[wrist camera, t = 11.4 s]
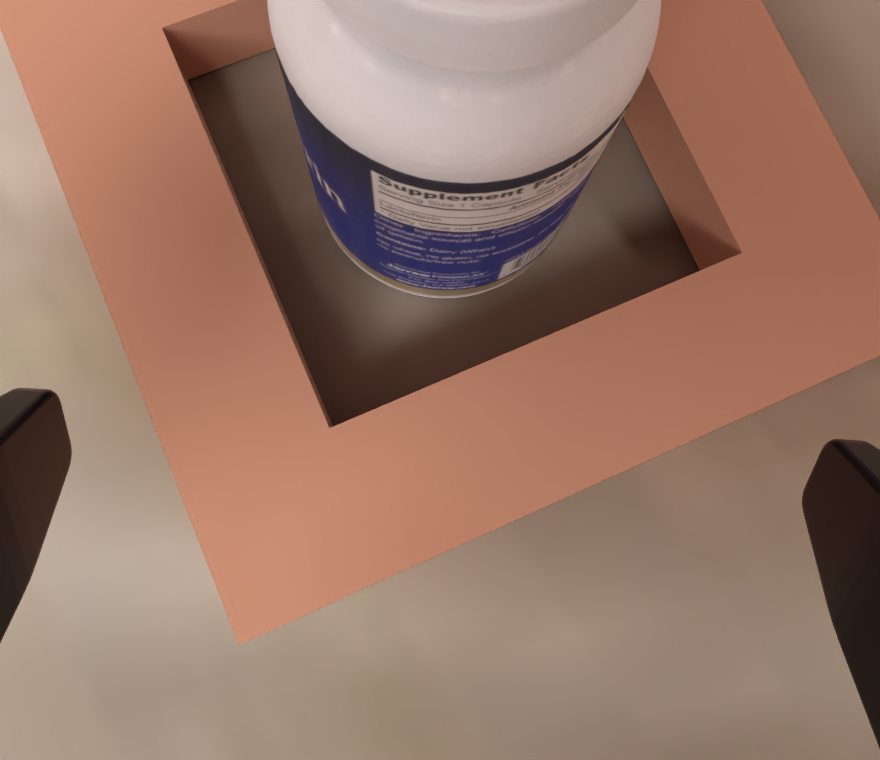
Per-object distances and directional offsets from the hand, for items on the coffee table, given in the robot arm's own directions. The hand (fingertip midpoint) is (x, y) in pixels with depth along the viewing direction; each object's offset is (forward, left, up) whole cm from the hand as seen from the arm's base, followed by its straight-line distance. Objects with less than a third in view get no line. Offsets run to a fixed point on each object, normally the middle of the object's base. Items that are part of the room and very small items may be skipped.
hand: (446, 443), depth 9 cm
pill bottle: (+6, -3, -8) cm, 10 cm away
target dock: (+6, -3, -8) cm, 10 cm away
